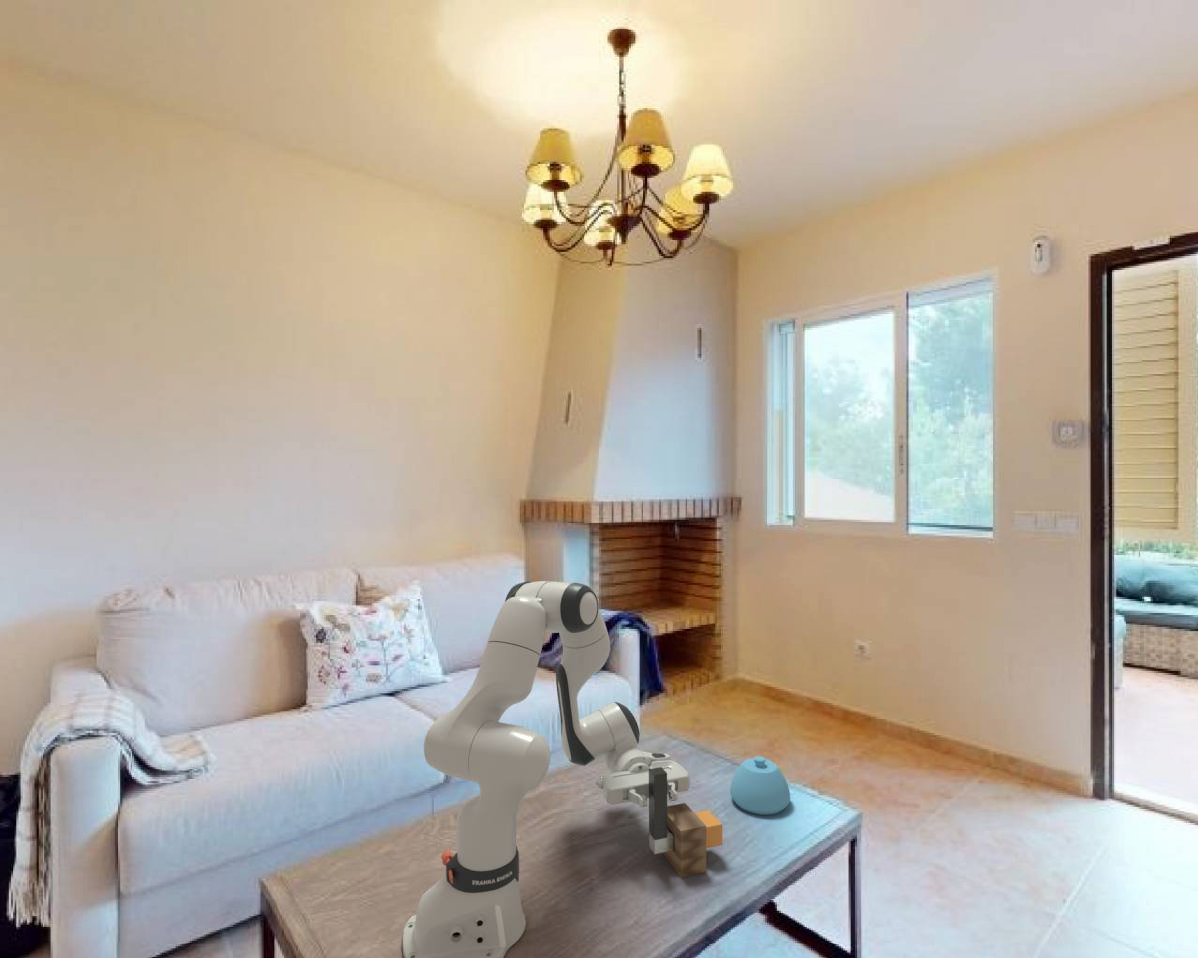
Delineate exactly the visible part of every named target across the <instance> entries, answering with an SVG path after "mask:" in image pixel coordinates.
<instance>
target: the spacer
mask: <svg viewBox="0 0 1198 958" xmlns="http://www.w3.org/2000/svg"><path fill="white" fill-rule="evenodd" d="M694 813H695V814H696V815H697V816H698V817H699V819H700V820H701V821H702V822H703V823H704V824H705V825H706V849H709V848H710V849H711V848H715V847H719V846H722V845H723V823H722V822H721V821H720V820H719V819H718V818H717V817H716V816H715V815H714V814H713V813H712V812H711V811H710V810H709V809H707V810H702V811H696V812H694Z"/></svg>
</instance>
